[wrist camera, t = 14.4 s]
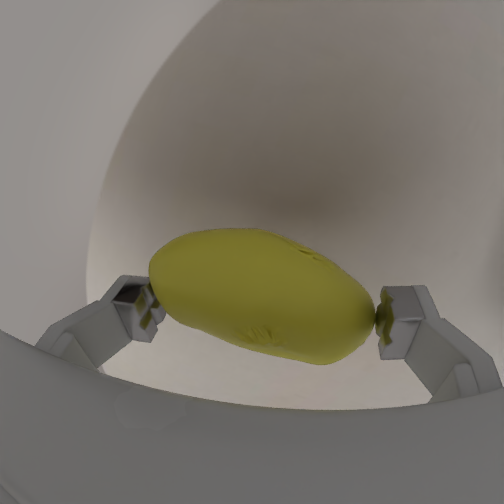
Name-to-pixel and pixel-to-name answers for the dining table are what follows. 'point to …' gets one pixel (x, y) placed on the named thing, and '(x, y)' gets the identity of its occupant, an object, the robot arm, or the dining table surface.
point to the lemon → (262, 294)
